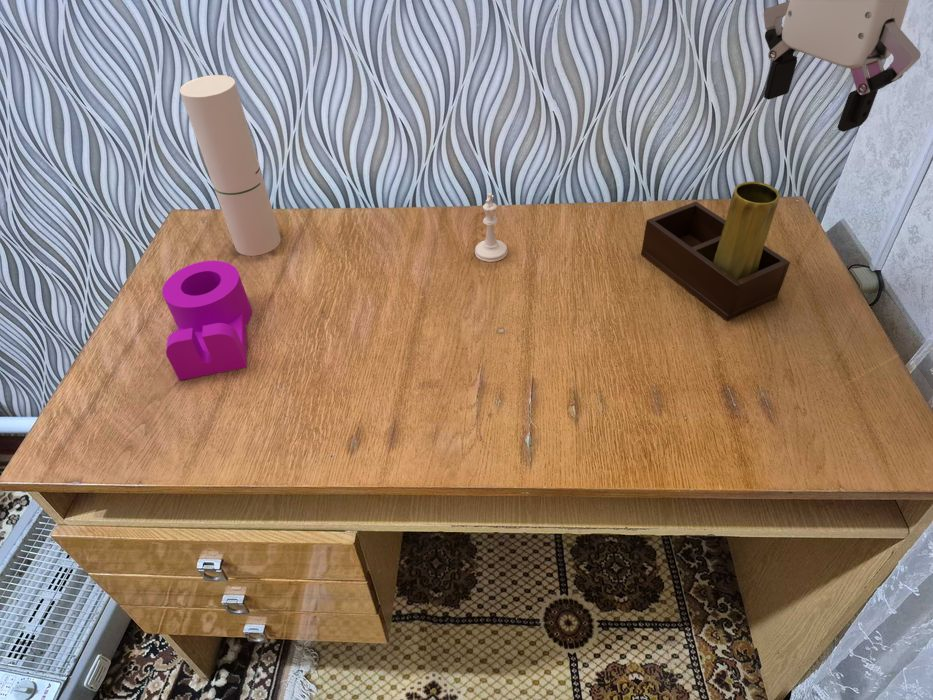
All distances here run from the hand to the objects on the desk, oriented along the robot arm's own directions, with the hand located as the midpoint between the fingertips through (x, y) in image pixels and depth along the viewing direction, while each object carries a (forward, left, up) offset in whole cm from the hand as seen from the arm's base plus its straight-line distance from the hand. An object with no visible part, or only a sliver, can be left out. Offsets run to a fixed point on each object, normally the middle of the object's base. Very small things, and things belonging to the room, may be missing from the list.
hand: (811, 111), depth 71 cm
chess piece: (+28, +24, -26) cm, 45 cm away
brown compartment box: (+7, +1, -26) cm, 27 cm away
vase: (+3, +1, -25) cm, 25 cm away
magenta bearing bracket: (+32, +65, -26) cm, 77 cm away
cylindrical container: (+50, +54, -26) cm, 78 cm away
